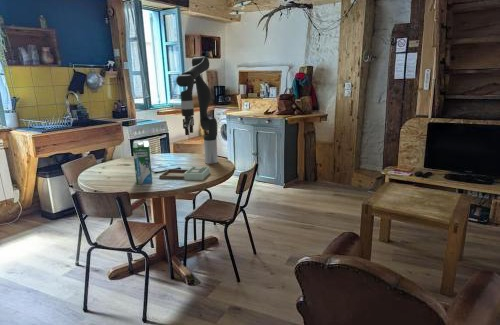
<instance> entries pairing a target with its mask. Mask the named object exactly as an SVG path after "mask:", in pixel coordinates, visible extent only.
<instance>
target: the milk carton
mask: <svg viewBox="0 0 500 325" xmlns="http://www.w3.org/2000/svg"><path fill="white" fill-rule="evenodd" d="M150 151H151V150H150V141H149V140H138V141H136V140H135V141H132V153H133V163H134V173H135V181H136V186H139V185H140V186H142V185H144V184H152V183H153V174H152V164H151V163H152V161H151V154H150V153H151V152H150Z"/></svg>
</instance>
